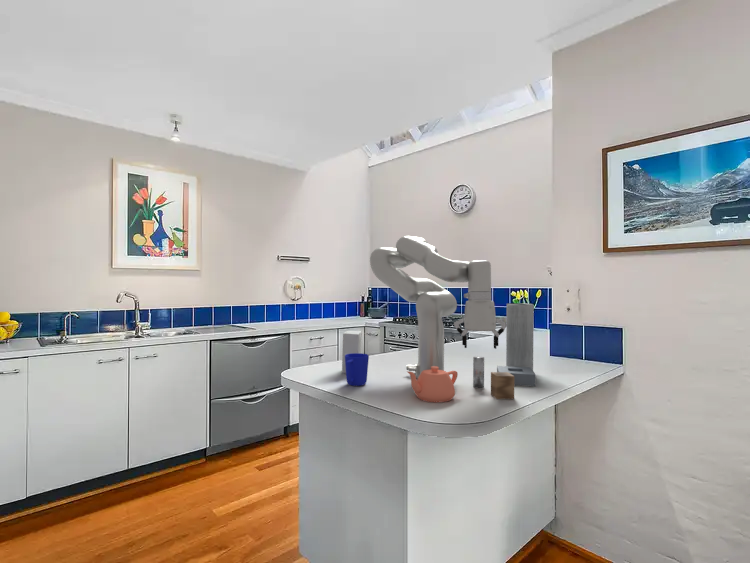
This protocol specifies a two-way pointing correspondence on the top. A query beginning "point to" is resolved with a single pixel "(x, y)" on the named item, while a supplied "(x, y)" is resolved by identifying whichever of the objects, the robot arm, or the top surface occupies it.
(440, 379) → the teapot
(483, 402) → the top surface
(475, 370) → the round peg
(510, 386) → the square peg
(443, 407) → the top surface
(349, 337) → the skincare box
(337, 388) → the top surface
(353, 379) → the mug
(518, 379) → the socket block
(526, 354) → the vase
